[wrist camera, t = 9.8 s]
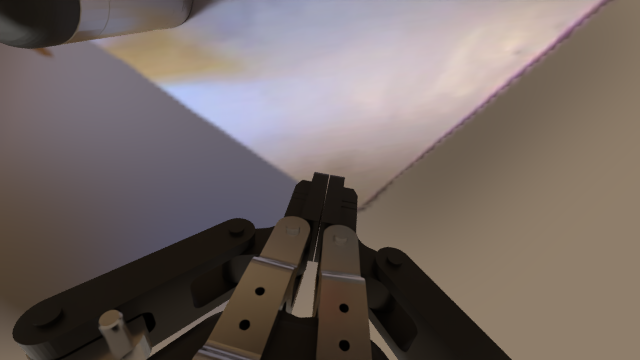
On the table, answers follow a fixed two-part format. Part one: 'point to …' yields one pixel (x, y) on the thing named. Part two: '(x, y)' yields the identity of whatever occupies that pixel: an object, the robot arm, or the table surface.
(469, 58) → the table surface
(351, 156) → the table surface
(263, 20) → the table surface
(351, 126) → the table surface
